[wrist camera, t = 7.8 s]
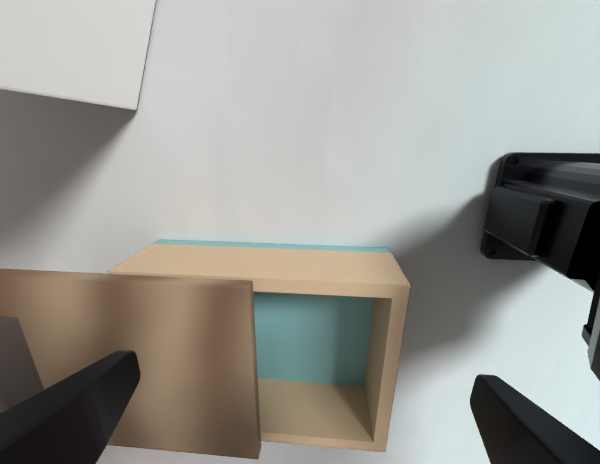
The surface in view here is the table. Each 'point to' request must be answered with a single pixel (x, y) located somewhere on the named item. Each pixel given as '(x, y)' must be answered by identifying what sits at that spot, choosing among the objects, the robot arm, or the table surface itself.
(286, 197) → the table surface
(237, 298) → the lid
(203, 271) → the box
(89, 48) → the milk carton
